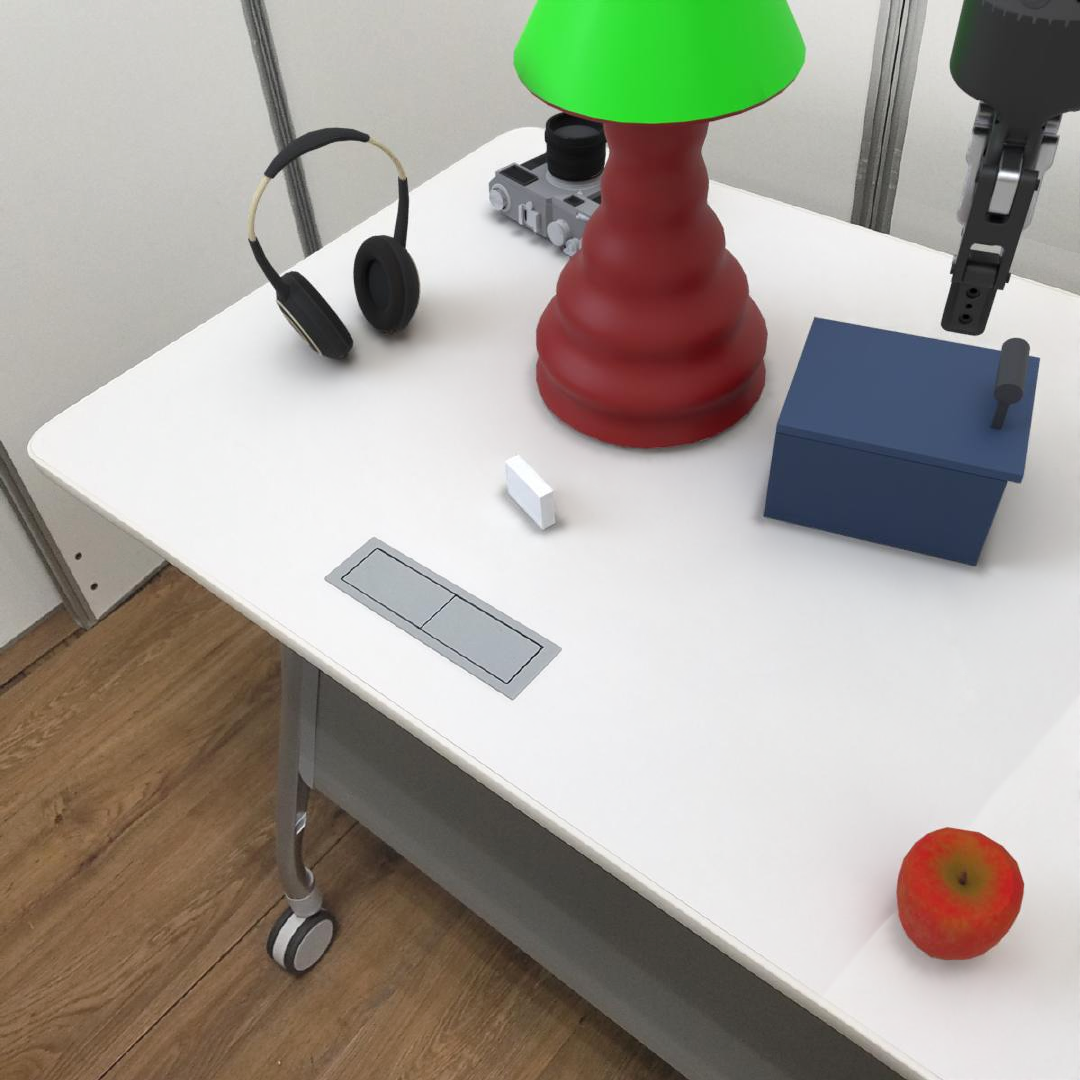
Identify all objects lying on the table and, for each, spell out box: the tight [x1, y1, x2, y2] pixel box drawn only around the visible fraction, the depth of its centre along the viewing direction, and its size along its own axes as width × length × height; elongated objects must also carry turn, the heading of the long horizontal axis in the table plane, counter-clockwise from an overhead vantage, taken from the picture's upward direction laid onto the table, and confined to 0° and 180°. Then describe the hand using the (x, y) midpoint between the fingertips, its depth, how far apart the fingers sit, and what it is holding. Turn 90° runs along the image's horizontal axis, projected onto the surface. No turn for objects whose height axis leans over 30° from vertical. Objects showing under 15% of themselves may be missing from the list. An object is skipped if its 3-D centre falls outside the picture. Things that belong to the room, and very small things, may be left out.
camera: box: [488, 111, 607, 258], centre depth 108 cm, size 18×10×10 cm
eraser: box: [504, 454, 556, 531], centre depth 84 cm, size 1×5×4 cm, turn 34°
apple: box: [895, 826, 1025, 961], centre depth 60 cm, size 6×6×8 cm
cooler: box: [763, 431, 1009, 567], centre depth 82 cm, size 16×13×9 cm
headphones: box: [247, 127, 421, 359], centre depth 93 cm, size 9×15×20 cm, turn 125°
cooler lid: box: [775, 316, 1041, 485], centre depth 77 cm, size 16×13×5 cm
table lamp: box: [512, 0, 807, 450], centre depth 78 cm, size 20×20×45 cm
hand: (971, 283), depth 60 cm, fingers open, 8 cm apart
